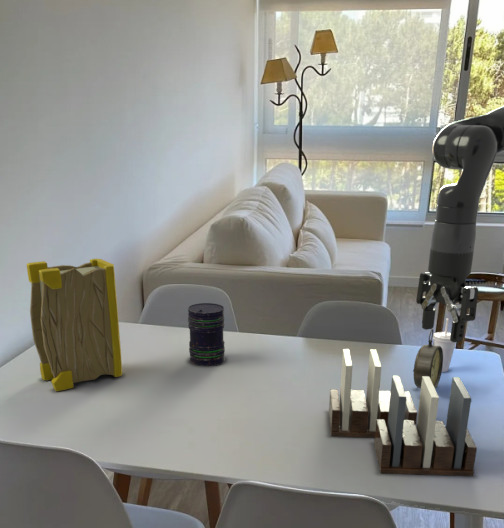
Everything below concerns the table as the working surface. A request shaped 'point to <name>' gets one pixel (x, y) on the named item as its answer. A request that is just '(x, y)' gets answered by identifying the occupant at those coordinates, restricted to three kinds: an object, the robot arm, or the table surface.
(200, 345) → the black barrel
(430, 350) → the alarm clock
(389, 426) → the grey book
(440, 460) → the book stands
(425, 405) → the ivory book
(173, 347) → the table surface
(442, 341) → the smoothie
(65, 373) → the decorative book
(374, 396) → the ivory book
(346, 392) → the ivory book
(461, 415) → the grey book
